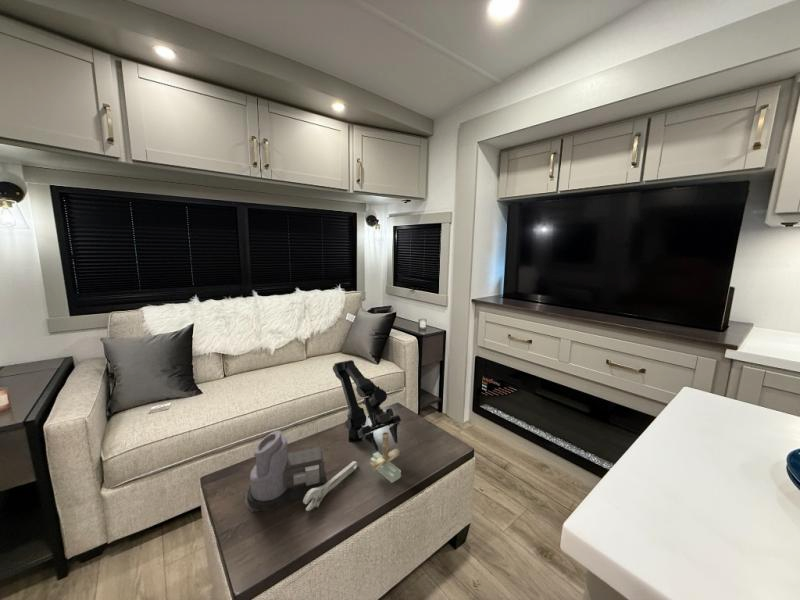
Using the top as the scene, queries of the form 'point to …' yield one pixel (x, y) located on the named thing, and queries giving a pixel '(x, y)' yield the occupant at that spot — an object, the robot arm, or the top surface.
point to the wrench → (327, 487)
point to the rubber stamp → (384, 454)
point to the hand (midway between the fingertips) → (387, 446)
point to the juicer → (282, 473)
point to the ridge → (387, 469)
